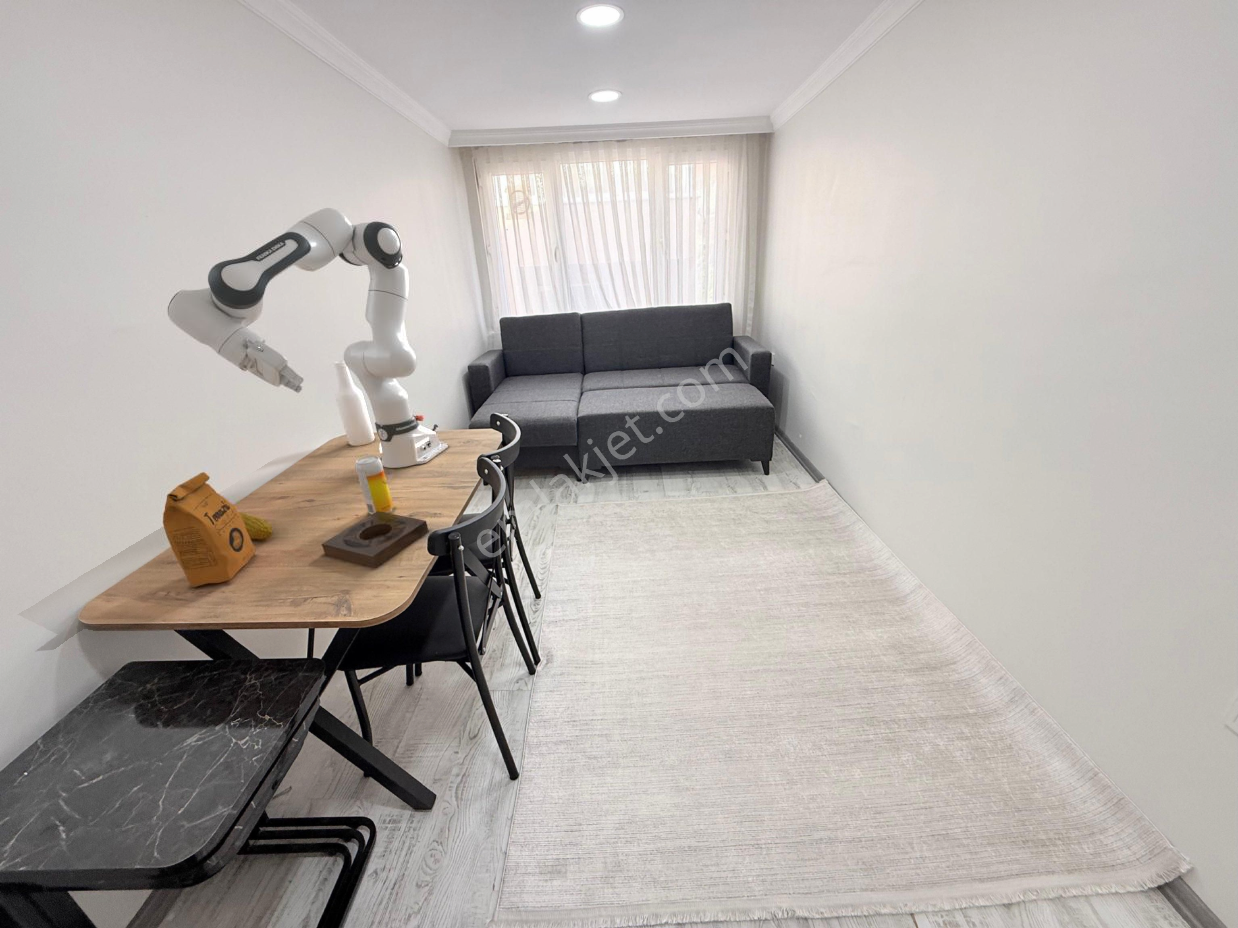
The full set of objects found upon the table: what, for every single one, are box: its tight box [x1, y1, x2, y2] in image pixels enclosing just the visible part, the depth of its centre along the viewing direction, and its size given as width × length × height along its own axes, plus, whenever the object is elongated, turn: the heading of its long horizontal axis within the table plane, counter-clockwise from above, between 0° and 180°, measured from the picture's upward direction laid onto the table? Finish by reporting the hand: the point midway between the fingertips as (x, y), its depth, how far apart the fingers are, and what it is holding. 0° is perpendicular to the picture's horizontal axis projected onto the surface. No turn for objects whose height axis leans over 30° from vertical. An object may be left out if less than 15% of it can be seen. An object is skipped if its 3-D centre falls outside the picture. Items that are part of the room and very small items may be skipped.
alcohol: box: [333, 360, 376, 447], centre depth 177 cm, size 9×9×30 cm
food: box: [238, 511, 274, 540], centre depth 123 cm, size 21×6×6 cm, turn 69°
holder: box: [321, 511, 429, 569], centre depth 116 cm, size 16×16×3 cm
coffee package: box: [162, 471, 256, 588], centre depth 105 cm, size 10×12×22 cm
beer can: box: [354, 455, 394, 515], centre depth 128 cm, size 6×6×15 cm
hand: (301, 386), depth 124 cm, fingers open, 8 cm apart
